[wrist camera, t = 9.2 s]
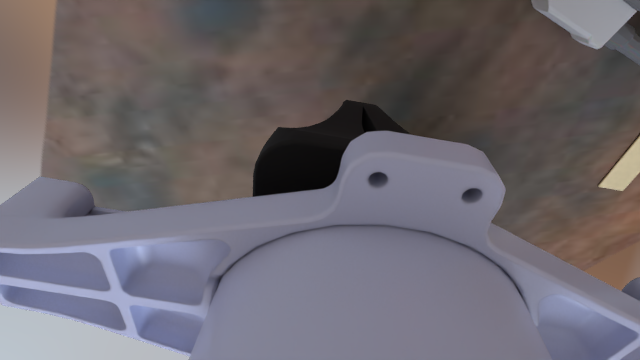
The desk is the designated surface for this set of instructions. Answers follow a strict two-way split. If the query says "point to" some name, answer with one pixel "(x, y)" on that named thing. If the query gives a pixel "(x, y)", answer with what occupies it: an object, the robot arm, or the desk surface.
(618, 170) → the tape line
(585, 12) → the walkie-talkie
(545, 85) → the desk surface
